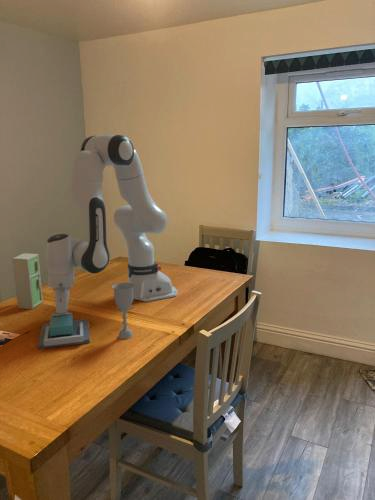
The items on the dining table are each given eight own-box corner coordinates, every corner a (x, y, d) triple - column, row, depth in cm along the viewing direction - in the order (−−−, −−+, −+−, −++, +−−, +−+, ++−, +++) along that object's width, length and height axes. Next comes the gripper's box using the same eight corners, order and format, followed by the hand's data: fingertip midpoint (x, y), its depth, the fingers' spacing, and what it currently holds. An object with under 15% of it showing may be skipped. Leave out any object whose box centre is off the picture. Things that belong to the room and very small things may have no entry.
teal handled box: (73, 325, 139) (72, 312, 138) (72, 337, 130) (71, 323, 128) (52, 327, 137) (51, 314, 136) (50, 339, 128) (48, 325, 127)
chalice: (118, 342, 129) (115, 290, 124) (112, 333, 135) (109, 284, 130) (139, 337, 132) (137, 287, 128) (132, 329, 138) (130, 281, 134)
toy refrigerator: (33, 309, 156) (28, 259, 150) (17, 308, 157) (11, 258, 152) (44, 302, 163) (40, 253, 158) (29, 301, 165) (24, 253, 159)
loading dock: (88, 321, 147) (87, 310, 146) (90, 347, 128) (89, 335, 127) (43, 326, 143) (42, 315, 142) (38, 353, 124) (37, 341, 123)
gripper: (69, 288, 130) (72, 326, 133) (71, 271, 149) (73, 305, 152) (49, 290, 128) (53, 328, 132) (53, 272, 147) (56, 306, 151)
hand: (64, 315), depth 142 cm, fingers open, 5 cm apart
